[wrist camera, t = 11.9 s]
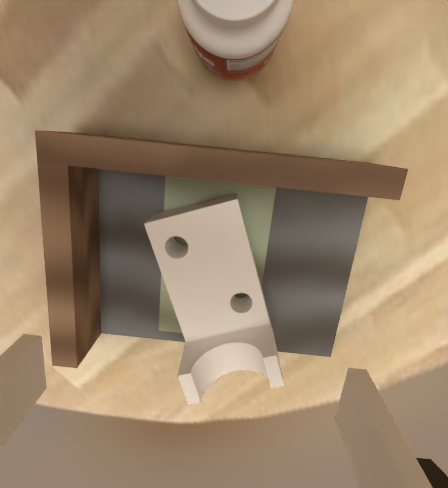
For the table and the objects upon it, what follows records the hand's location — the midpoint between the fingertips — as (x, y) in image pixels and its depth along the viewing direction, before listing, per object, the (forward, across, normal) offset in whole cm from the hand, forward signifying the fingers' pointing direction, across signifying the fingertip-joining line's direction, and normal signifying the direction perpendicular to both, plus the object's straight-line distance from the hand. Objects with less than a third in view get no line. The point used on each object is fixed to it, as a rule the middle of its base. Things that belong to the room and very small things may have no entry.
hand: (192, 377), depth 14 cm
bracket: (+15, 0, +2) cm, 15 cm away
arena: (+16, 0, 0) cm, 16 cm away
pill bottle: (+16, 0, -17) cm, 24 cm away
